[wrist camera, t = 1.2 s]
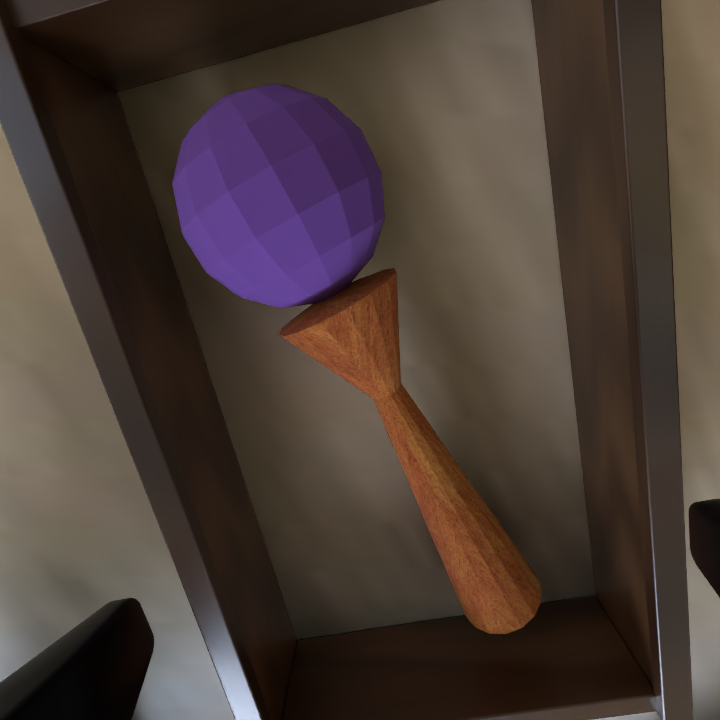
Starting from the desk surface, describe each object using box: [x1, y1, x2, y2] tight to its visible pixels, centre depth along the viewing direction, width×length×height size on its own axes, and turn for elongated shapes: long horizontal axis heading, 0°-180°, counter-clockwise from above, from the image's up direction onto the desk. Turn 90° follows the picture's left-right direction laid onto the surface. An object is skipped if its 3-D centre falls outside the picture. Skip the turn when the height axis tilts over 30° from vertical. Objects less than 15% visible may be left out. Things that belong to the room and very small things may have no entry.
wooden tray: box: [0, 0, 693, 720], centre depth 15 cm, size 26×16×5 cm, turn 13°
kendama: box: [172, 84, 541, 634], centre depth 15 cm, size 6×6×20 cm
